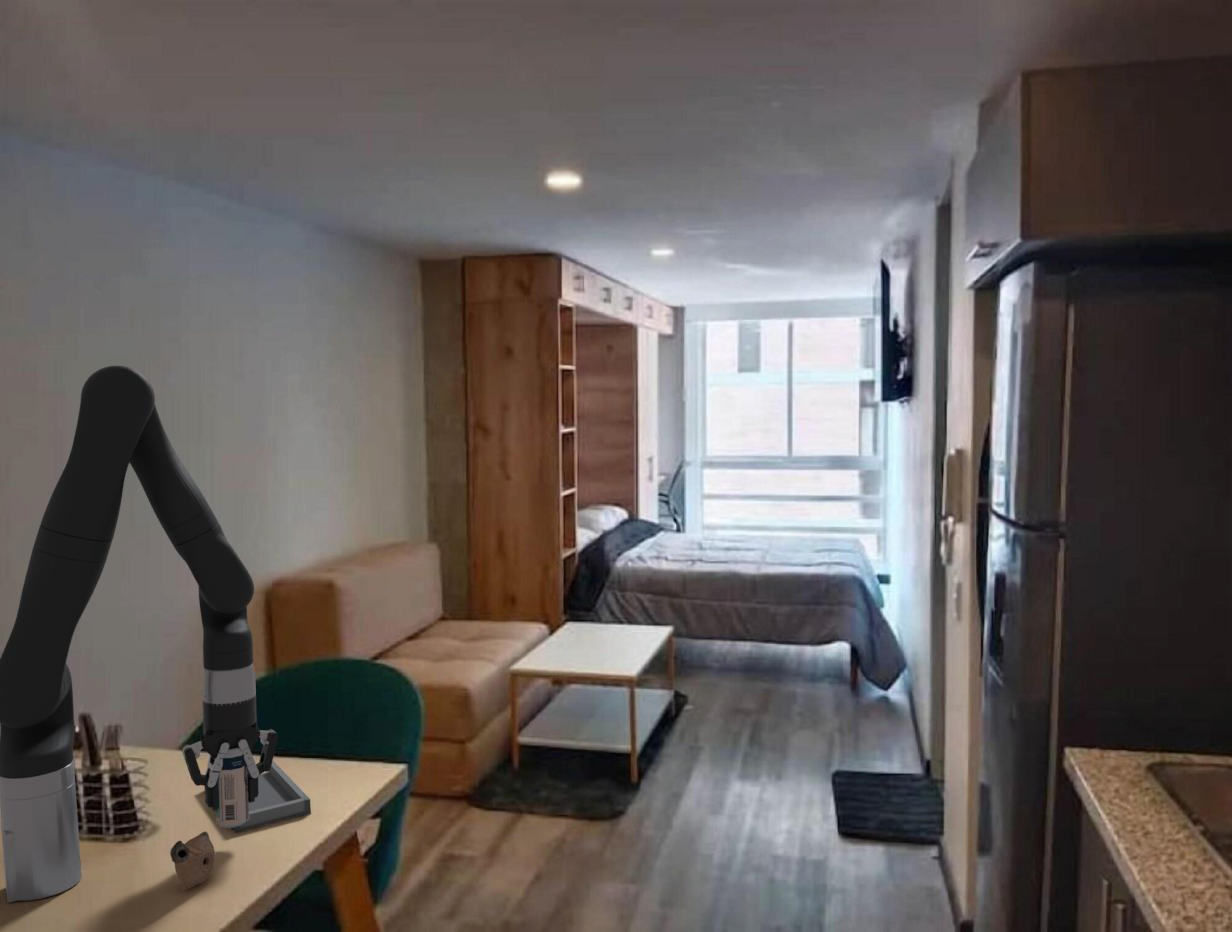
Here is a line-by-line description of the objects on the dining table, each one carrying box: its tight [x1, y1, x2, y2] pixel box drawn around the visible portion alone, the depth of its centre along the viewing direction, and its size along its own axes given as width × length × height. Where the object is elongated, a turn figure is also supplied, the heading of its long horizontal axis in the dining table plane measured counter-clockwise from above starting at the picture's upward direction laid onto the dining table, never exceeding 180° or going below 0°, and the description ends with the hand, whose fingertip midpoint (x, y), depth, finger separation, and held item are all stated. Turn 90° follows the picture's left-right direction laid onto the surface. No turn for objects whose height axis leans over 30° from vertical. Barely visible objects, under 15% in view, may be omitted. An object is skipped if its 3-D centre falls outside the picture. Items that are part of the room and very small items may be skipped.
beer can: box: [215, 748, 249, 829], centre depth 150 cm, size 5×5×12 cm
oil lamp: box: [169, 831, 216, 891], centre depth 137 cm, size 9×4×8 cm, turn 173°
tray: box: [204, 760, 312, 834], centre depth 167 cm, size 12×22×2 cm, turn 34°
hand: (232, 804), depth 150 cm, fingers closed on beer can, 4 cm apart
